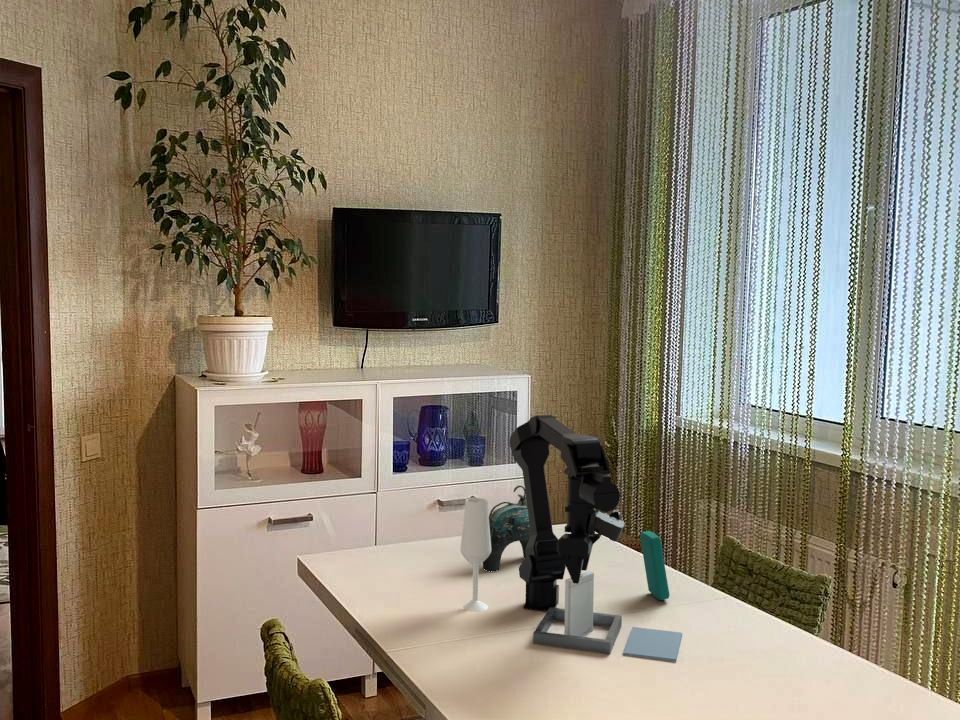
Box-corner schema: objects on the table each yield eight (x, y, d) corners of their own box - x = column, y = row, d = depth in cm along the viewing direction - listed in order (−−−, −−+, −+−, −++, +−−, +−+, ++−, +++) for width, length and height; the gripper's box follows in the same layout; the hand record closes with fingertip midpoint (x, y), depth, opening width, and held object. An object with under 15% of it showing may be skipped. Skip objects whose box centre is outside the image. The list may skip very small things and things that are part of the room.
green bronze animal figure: (532, 555, 246) (533, 479, 244) (550, 560, 241) (552, 483, 239) (476, 570, 232) (477, 490, 231) (494, 577, 228) (495, 495, 226)
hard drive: (593, 631, 193) (595, 572, 192) (569, 643, 187) (571, 581, 186) (587, 629, 194) (588, 570, 193) (562, 640, 188) (564, 580, 187)
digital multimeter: (660, 603, 210) (672, 600, 211) (649, 538, 209) (662, 535, 210) (648, 594, 217) (660, 591, 218) (638, 531, 216) (650, 528, 217)
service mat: (623, 655, 181) (623, 652, 181) (632, 629, 195) (632, 626, 195) (676, 662, 179) (676, 659, 178) (682, 635, 192) (682, 632, 192)
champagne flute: (454, 611, 204) (456, 502, 202) (466, 601, 210) (468, 495, 208) (483, 615, 202) (485, 505, 199) (495, 605, 208) (496, 498, 206)
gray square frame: (533, 645, 186) (533, 633, 186) (549, 618, 200) (549, 607, 200) (610, 655, 181) (610, 642, 181) (621, 627, 196) (621, 615, 196)
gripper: (615, 514, 177) (613, 595, 179) (628, 493, 195) (626, 567, 196) (556, 509, 180) (555, 589, 182) (575, 489, 198) (573, 561, 199)
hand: (580, 576), depth 190 cm, fingers open, 8 cm apart
